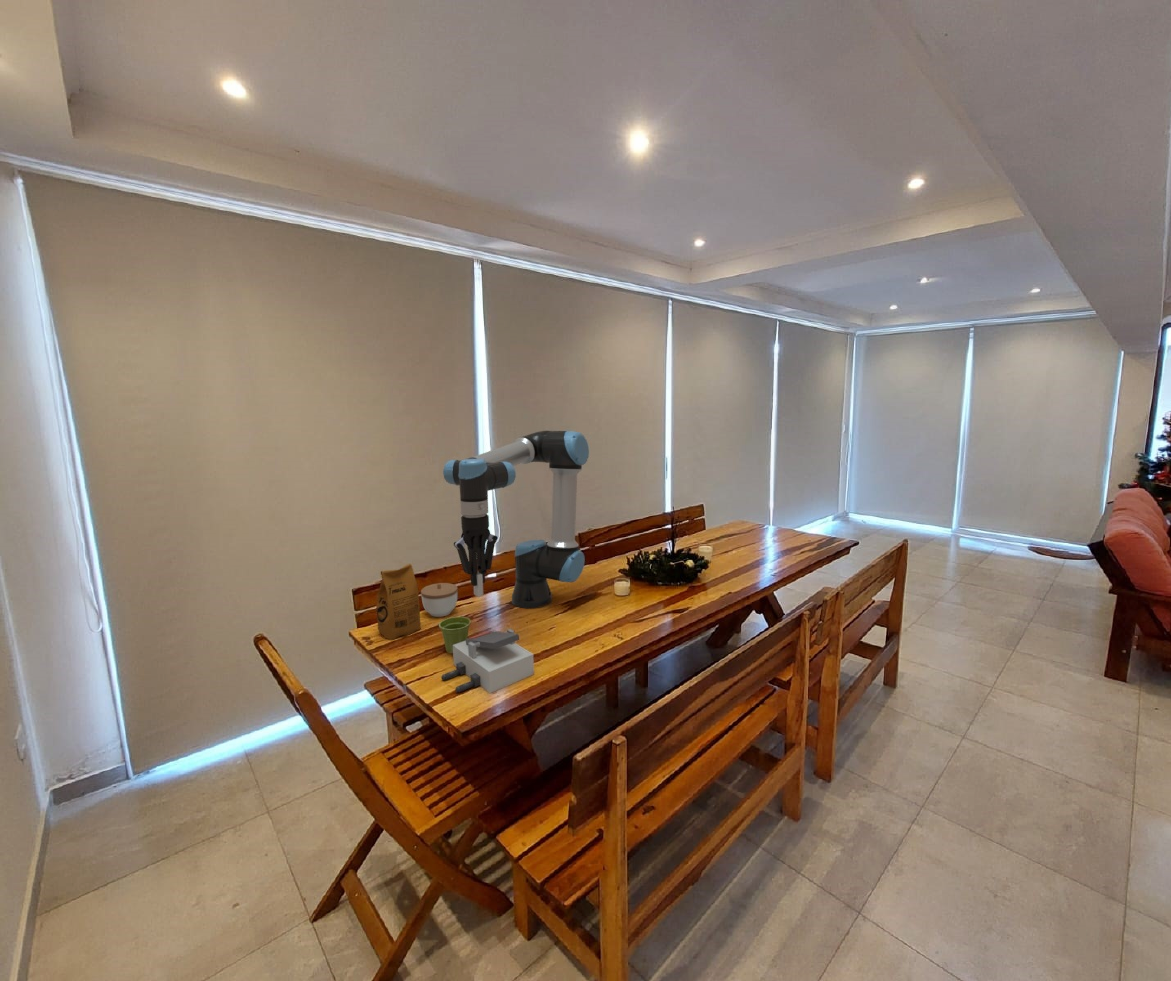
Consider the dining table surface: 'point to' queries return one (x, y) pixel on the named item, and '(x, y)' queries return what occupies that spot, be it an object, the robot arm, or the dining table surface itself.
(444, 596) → the lidded bowl
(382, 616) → the coffee package
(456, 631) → the plant pot
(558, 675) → the dining table surface
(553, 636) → the dining table surface
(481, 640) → the rocker
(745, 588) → the dining table surface
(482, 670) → the switch box
